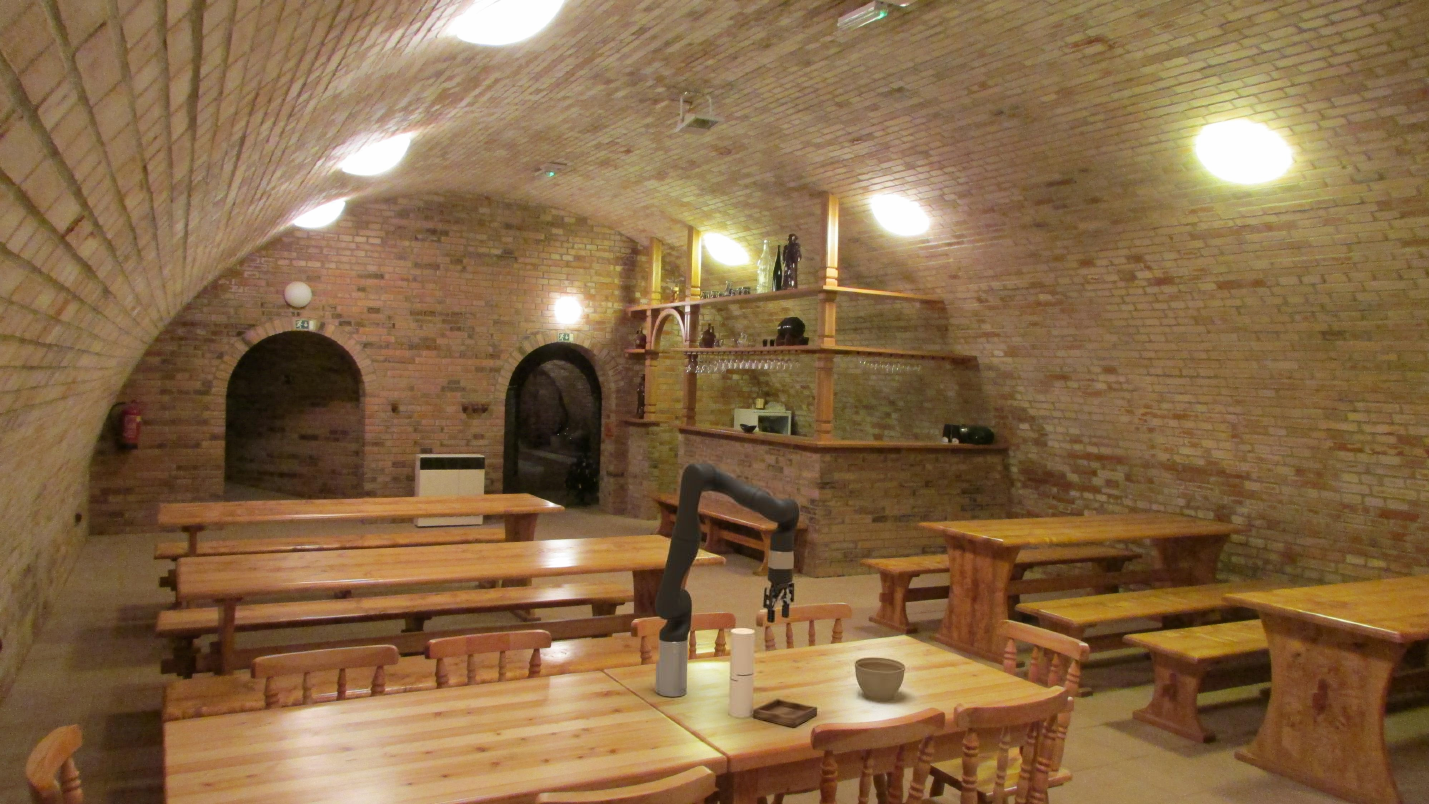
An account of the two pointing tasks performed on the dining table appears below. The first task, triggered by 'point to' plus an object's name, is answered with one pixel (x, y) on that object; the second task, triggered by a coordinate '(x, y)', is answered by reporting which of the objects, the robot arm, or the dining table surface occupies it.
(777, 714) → the walnut tray
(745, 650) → the cylindrical container
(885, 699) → the planter bowl
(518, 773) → the dining table surface
